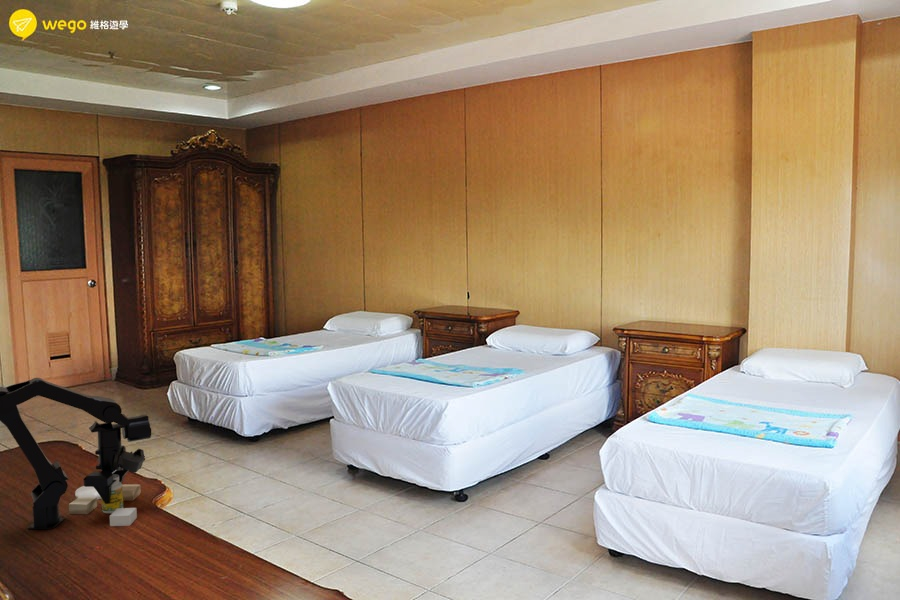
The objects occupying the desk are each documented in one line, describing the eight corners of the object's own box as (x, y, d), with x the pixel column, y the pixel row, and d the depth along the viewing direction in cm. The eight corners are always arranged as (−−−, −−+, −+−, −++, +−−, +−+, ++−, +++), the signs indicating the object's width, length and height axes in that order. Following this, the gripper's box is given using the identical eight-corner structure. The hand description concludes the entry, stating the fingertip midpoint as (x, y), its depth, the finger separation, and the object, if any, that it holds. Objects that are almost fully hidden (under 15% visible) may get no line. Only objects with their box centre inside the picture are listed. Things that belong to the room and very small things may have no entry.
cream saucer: (109, 500, 194) (109, 496, 194) (67, 500, 194) (66, 496, 193) (127, 484, 206) (127, 481, 206) (87, 484, 205) (87, 481, 205)
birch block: (87, 515, 184) (86, 504, 184) (69, 514, 184) (68, 504, 184) (97, 507, 189) (96, 497, 189) (79, 507, 189) (79, 497, 189)
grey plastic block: (129, 526, 178) (129, 515, 177) (110, 527, 177) (109, 516, 177) (136, 518, 183) (136, 507, 182) (117, 519, 182) (117, 508, 182)
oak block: (133, 501, 194) (132, 491, 194) (115, 501, 194) (115, 491, 194) (140, 494, 199) (140, 484, 199) (123, 494, 199) (123, 484, 199)
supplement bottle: (119, 504, 191) (118, 471, 190) (126, 510, 187) (124, 476, 186) (99, 509, 187) (97, 476, 186) (105, 515, 183) (103, 481, 182)
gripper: (124, 455, 176) (127, 513, 178) (153, 434, 195) (155, 486, 196) (81, 456, 176) (84, 513, 177) (113, 434, 194) (116, 486, 196)
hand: (112, 499), depth 187 cm, fingers closed on supplement bottle, 5 cm apart
